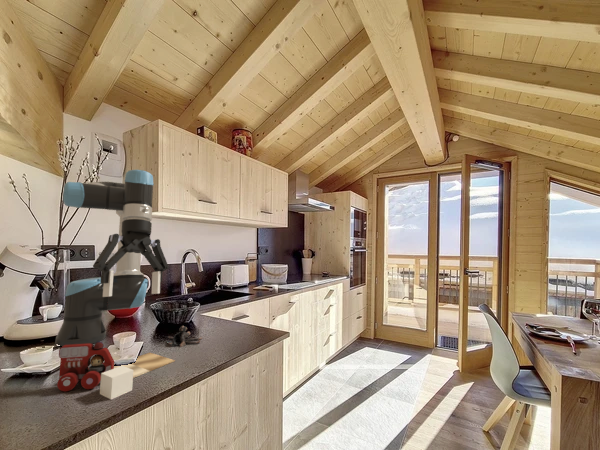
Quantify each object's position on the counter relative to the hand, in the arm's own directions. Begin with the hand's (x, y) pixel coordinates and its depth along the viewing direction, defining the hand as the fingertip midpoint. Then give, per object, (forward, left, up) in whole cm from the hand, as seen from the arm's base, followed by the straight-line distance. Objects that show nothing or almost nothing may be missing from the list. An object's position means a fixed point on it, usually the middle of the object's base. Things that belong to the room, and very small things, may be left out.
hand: (133, 295), depth 76 cm
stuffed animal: (-14, +28, -23) cm, 39 cm away
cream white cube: (+3, -5, -23) cm, 24 cm away
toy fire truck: (-7, -7, -23) cm, 25 cm away
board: (-7, +6, -23) cm, 25 cm away
